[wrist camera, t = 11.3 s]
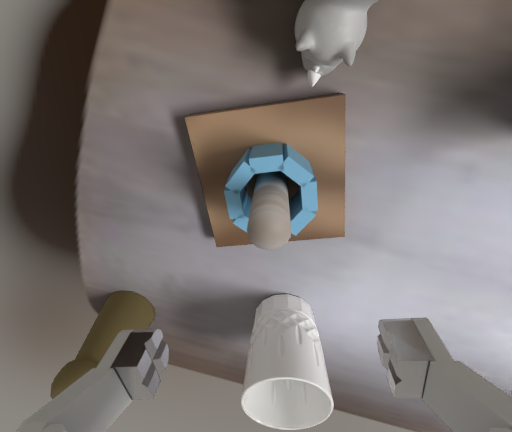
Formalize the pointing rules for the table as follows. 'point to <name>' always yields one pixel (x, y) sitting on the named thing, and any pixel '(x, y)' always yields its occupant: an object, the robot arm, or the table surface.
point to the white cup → (286, 367)
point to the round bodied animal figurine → (329, 34)
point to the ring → (271, 161)
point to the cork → (105, 335)
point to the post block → (275, 183)
